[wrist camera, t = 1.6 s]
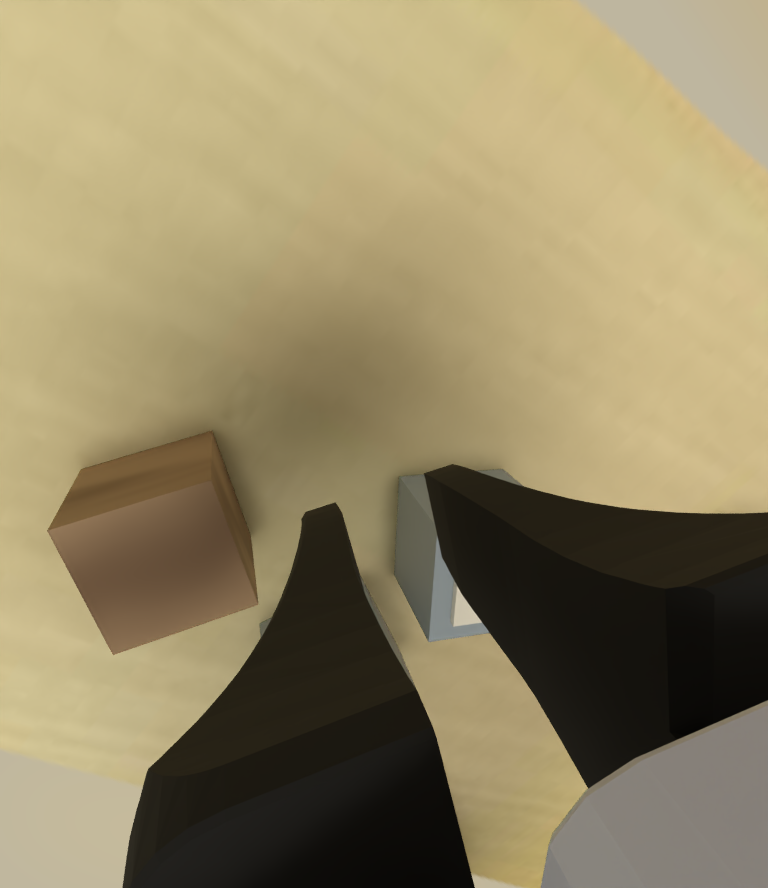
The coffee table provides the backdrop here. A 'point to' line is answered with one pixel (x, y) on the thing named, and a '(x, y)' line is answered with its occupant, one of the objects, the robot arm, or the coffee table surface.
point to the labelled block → (430, 565)
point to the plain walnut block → (157, 542)
